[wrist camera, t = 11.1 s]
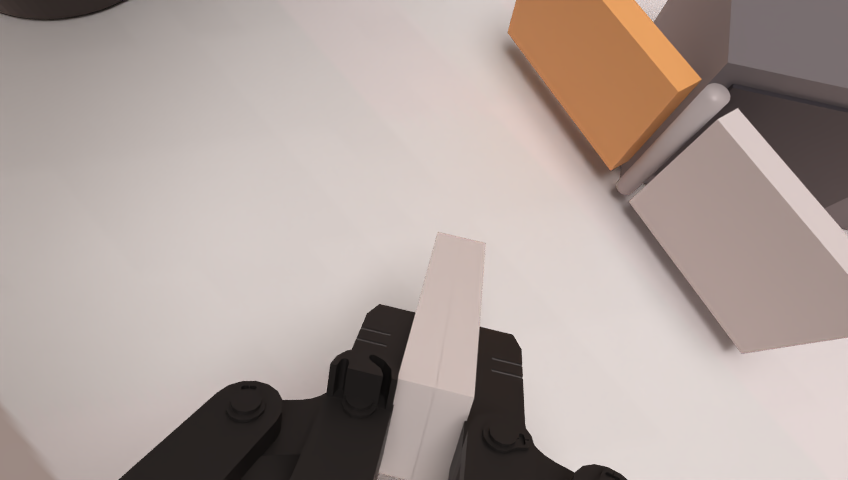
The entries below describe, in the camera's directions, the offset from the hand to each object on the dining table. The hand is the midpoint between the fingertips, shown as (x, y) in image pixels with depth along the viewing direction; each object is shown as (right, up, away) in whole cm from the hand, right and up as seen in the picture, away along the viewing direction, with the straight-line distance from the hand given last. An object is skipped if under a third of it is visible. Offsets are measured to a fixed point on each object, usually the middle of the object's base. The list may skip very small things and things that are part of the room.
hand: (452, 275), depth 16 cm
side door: (+10, +4, +11) cm, 15 cm away
